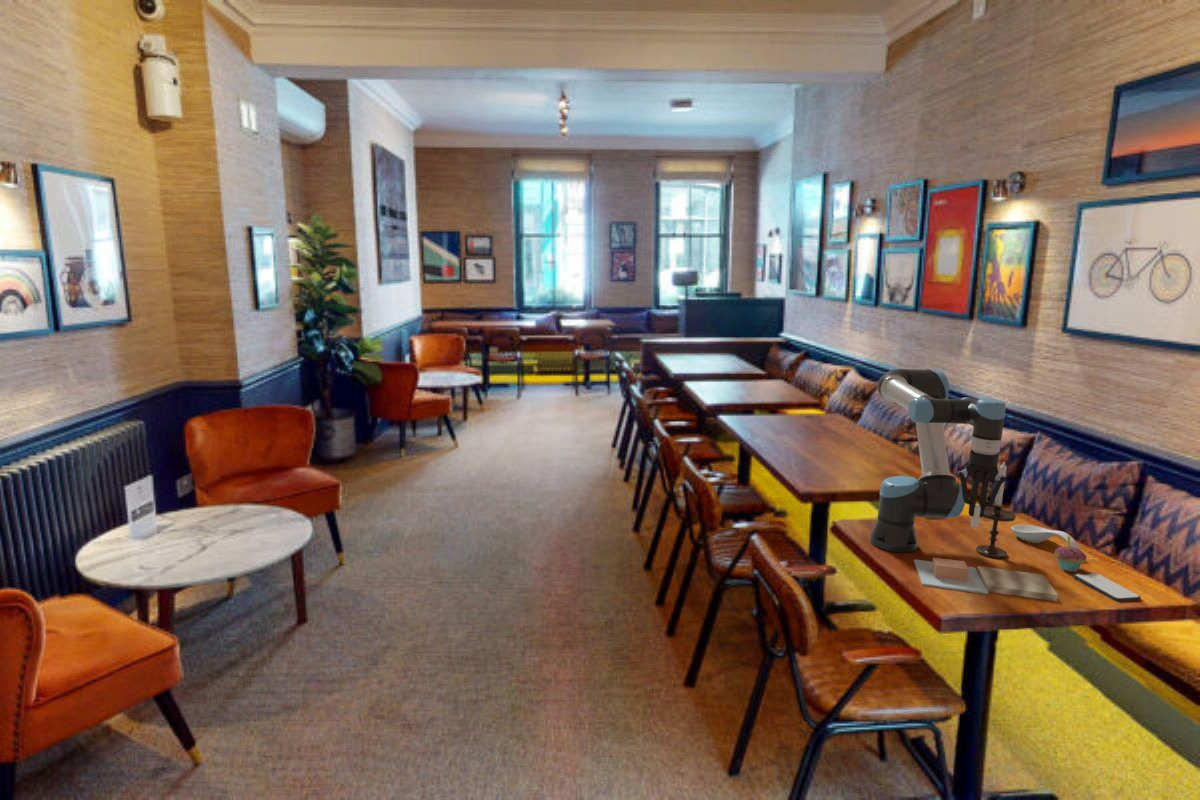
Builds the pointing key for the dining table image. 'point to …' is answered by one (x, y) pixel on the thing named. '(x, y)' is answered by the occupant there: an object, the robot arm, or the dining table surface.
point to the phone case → (1106, 587)
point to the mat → (971, 585)
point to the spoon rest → (1040, 534)
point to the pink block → (950, 569)
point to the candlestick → (996, 521)
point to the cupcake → (1070, 557)
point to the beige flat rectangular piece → (1016, 583)
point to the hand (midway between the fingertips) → (974, 526)
